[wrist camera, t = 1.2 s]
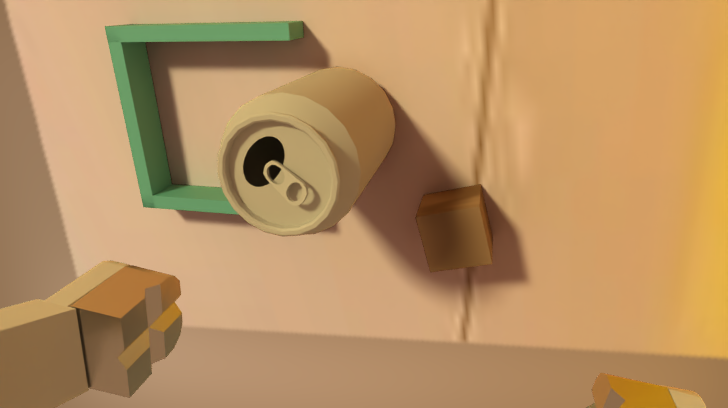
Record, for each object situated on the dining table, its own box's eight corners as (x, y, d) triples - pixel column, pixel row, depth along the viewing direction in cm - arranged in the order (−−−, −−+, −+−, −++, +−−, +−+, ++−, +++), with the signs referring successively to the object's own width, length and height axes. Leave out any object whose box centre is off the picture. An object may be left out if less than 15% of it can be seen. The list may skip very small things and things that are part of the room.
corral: (302, 21, 32) (288, 22, 30) (315, 206, 37) (304, 219, 35) (129, 24, 35) (104, 26, 33) (163, 195, 40) (143, 207, 38)
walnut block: (480, 183, 33) (479, 206, 30) (492, 236, 35) (492, 264, 31) (423, 194, 35) (415, 217, 31) (436, 244, 36) (430, 272, 32)
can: (328, 41, 32) (245, 64, 21) (420, 111, 32) (383, 168, 22) (274, 130, 35) (178, 189, 25) (358, 192, 36) (299, 277, 25)
